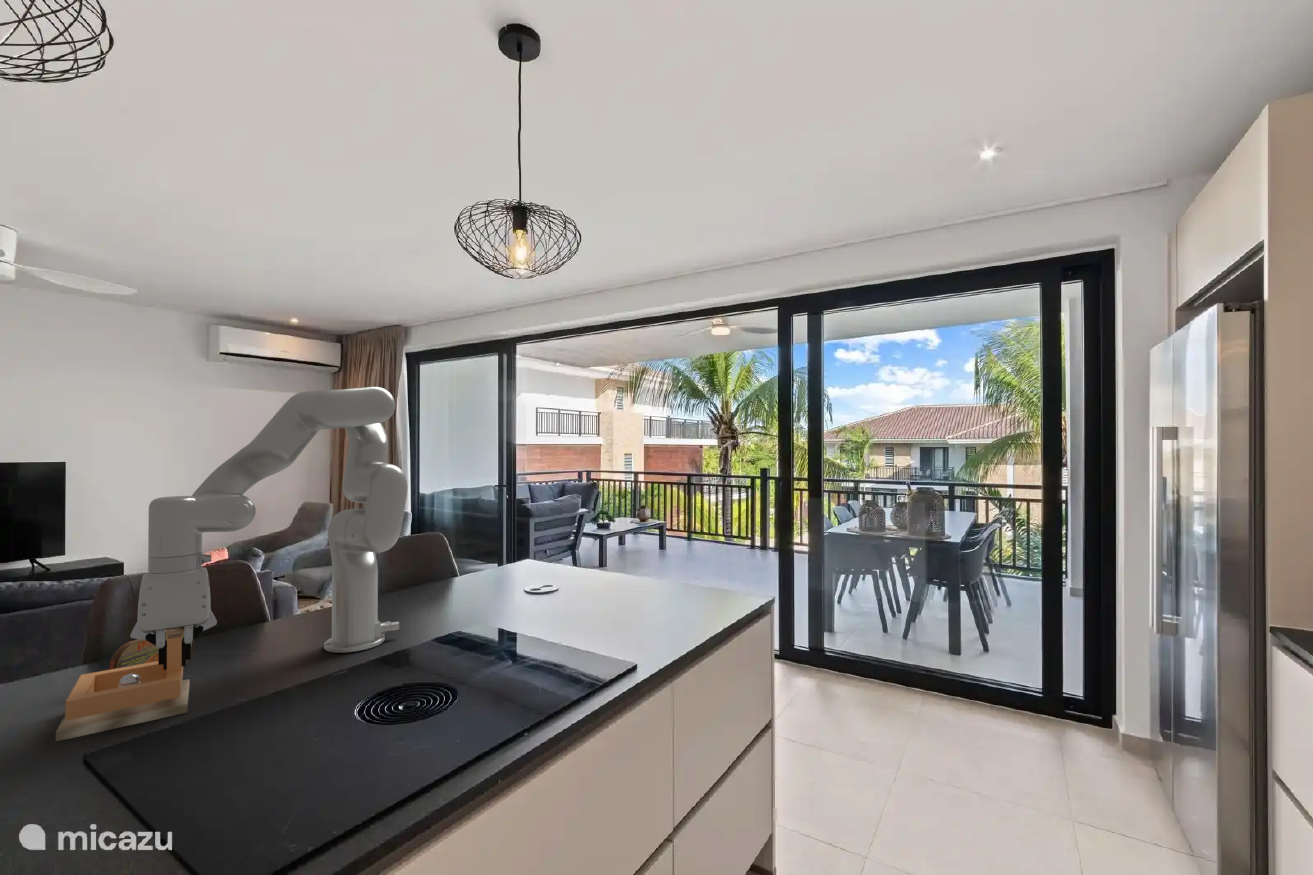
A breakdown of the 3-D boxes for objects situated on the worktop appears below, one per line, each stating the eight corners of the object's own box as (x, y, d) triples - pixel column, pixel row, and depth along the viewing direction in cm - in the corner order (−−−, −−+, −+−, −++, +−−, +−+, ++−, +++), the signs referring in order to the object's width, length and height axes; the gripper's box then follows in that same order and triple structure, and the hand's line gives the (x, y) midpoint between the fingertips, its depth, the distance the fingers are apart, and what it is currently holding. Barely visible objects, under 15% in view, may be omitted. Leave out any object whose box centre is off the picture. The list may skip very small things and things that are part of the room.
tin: (118, 692, 110) (118, 647, 110) (105, 690, 110) (105, 646, 110) (196, 663, 124) (196, 623, 124) (184, 662, 125) (184, 623, 125)
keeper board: (189, 686, 111) (189, 679, 111) (187, 712, 100) (187, 703, 100) (72, 710, 102) (72, 701, 102) (55, 741, 91) (55, 732, 91)
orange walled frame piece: (183, 672, 111) (183, 625, 111) (180, 696, 100) (180, 644, 100) (81, 691, 102) (81, 640, 102) (65, 720, 91) (65, 663, 91)
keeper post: (141, 697, 103) (142, 669, 103) (140, 703, 101) (140, 674, 101) (119, 702, 101) (119, 673, 101) (116, 708, 99) (117, 678, 99)
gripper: (229, 556, 113) (228, 650, 113) (119, 566, 103) (118, 670, 103) (229, 561, 107) (229, 661, 107) (113, 573, 97) (112, 683, 97)
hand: (174, 665), depth 105 cm, fingers closed on orange walled frame piece
